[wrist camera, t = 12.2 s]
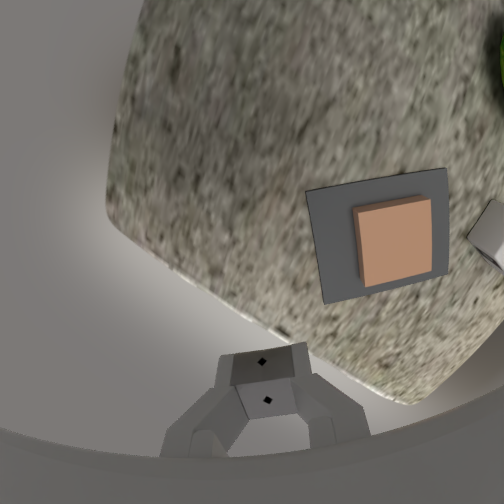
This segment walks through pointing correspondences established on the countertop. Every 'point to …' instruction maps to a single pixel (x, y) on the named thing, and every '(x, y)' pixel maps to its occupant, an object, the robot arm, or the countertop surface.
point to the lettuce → (502, 59)
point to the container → (490, 235)
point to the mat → (344, 237)
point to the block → (393, 239)
